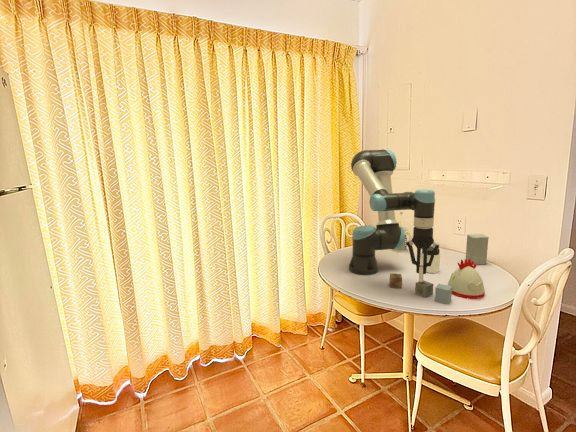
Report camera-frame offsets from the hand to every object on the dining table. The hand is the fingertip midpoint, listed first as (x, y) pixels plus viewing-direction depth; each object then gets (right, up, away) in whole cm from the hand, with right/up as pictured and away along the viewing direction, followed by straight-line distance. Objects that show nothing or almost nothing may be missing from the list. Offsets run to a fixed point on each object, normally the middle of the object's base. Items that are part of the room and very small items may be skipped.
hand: (420, 280), depth 129 cm
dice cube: (+2, -6, +1) cm, 6 cm away
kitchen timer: (+20, -5, +1) cm, 21 cm away
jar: (+17, -1, +27) cm, 32 cm away
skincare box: (+46, +2, +35) cm, 58 cm away
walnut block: (-7, -5, +10) cm, 13 cm away
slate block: (+7, -7, -6) cm, 11 cm away
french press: (+15, +6, +62) cm, 64 cm away
